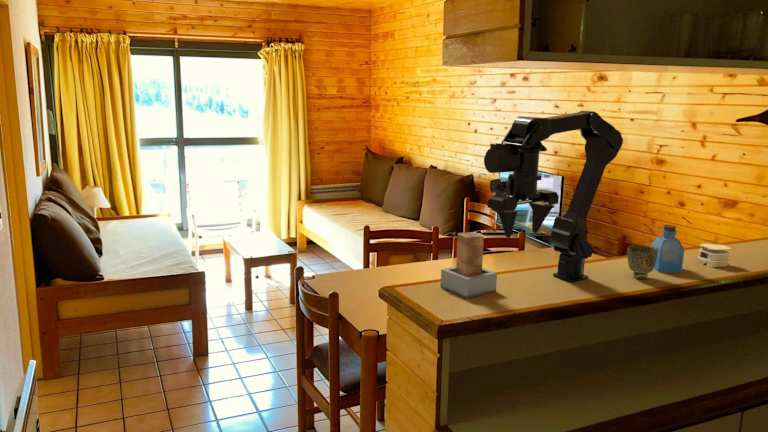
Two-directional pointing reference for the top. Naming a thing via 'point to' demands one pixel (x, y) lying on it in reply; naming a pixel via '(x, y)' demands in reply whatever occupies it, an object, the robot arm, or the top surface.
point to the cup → (642, 260)
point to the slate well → (468, 282)
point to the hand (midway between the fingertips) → (521, 235)
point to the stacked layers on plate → (714, 255)
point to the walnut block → (469, 254)
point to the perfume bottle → (668, 251)
